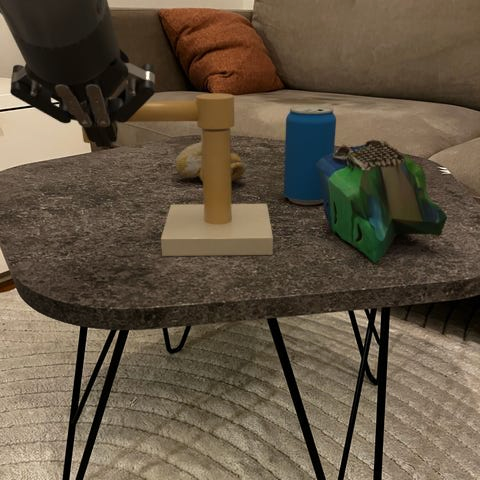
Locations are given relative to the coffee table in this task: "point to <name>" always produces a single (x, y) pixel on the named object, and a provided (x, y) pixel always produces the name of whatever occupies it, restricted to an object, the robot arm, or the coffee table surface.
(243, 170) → the seashell
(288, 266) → the coffee table surface
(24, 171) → the coffee table surface
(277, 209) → the coffee table surface
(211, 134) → the faucet base
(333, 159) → the sculpture
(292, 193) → the beverage can
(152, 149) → the coffee table surface
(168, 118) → the spout
